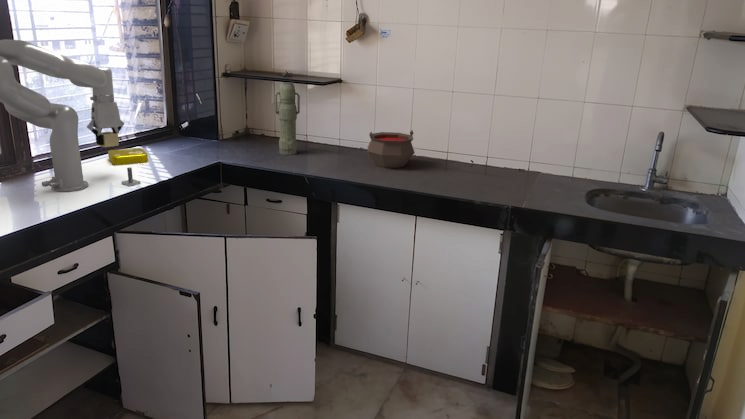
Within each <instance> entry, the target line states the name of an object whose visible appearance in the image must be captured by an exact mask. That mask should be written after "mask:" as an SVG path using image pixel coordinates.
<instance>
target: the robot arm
mask: <svg viewBox="0 0 745 419" xmlns="http://www.w3.org/2000/svg"><path fill="white" fill-rule="evenodd" d="M13 66H18V67H22V68H25V69H28V70H31V71H34V72H37V73H39V74H42V75H45V76H47V77H52V78H56V79H61V80H68V81H70V82H71V84H73V86H76V87H80V88H89V89H91V90H92V91H91V92H92V96H90V97H89V99H90V101H93V102H92V103H91V110H90V114H91V115H90V116H91V117H90V118H91V120H90V121H89V123H88V124H87V125H86V128H87V129H88V130H89V131H91V133H93V134H94V135H95V142H97V143H96V145H97V144H98V145H103V141H102V135H101V132H103V131H102V130H103V129H111V132H114V133H118V134H119V133H120V131H121V130H122V128H123V127H124V125H125V122H124V121H123V120H121V115H120V110H119V106H118V103H117V102H116V101H115V95H114V83H113V73H112V72H113V71H112V69H111V67H107V66H95V65H92V64H90V63H87V62H84V61H81V60H79V59H75V58H71V57H68V56H66V55H62V54H59V53H57V52H53V51H51V50H48V49H45V48H43V47H41V46H38V45H36V44H34V43H31V42H28V41H26V40H25V41H24V40H21V39H5V38H3V39H0V103H1V104H3V106H4V108H5V110H6V112H8V113H9V114H10V115H11V116H13V117H15V118H17V119H19V120H22V121H24V122H26V123H28V124H30V125H33V126H36V127H39V128H43V129H50V130H51V133H50V136H49V147H50V154H51V159H52V160H51V162H52V167H53V174H54V176H51V179H49V180H44V181H41V186H42V187H43V188H44V187H45V188H46V187H51V190H53V191H55V192H56V191H57V192H74V191H76V192H77V191H80V190H83V189H86V188H88V187H89V182H88V181H87V180H84V175H83V174H84V173H83V165H82V159H81V152H80V144H79V134H78V133H79V132H78V129H79V115H78V113H77V111H76V110H75V109H74V108H73V107H72V106H69V105H66V104H62V103H52V102H50V100H49V99H48V98H47V97H46V96H45V95H43V94H42V93H40V92H37V91H35V90H33V89H30V88H29V87H26V86H25V85H23V84H22V83H19V82H18V81H17V79H16V77H15V72H14V67H13ZM98 145H97V146H98Z"/></svg>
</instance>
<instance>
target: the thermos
mask: <svg viewBox="0 0 745 419" xmlns="http://www.w3.org/2000/svg"><path fill="white" fill-rule="evenodd" d="M278 95H279V106H278ZM296 96H297V105H296ZM300 97H301V95H300V94H299V93H298V92H296V88H295V84H294V83H293V82H291V81H290V82H289V81H287V82H285V81H284V82H282V83H280V86H279V91H277V92H276V93H275V94H274V98H275V99H274V100H275V102H274V103H275V105H274V106H275V114H277V115H278V119H279V141H278V148H279V149H278V150H279V152H278V154H280V155H283V156H295V155H297V153H298V152H297V151H298V150H297V149H298V142H297V124H296V123H297V119H298V118H297V117H298V116H297V115H298V114H300V111H301V110H300V108H301V107H300V104H301V100H300V99H301V98H300Z"/></svg>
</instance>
